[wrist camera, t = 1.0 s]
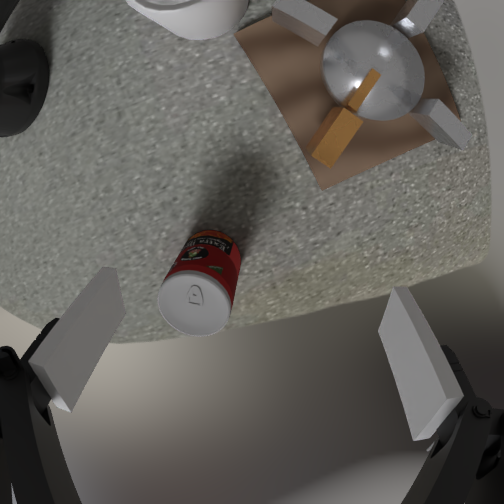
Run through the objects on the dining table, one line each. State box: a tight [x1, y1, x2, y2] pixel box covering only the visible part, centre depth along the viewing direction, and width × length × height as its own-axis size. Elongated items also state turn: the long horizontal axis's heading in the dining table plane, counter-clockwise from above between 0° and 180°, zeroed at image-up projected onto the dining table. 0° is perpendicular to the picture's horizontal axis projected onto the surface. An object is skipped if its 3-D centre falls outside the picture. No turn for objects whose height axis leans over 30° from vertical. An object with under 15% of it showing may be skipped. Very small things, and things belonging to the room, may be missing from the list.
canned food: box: [157, 230, 241, 336], centre depth 35 cm, size 8×8×11 cm
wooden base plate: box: [234, 0, 461, 190], centre depth 26 cm, size 20×20×4 cm
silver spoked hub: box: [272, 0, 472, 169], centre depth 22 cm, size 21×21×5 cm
